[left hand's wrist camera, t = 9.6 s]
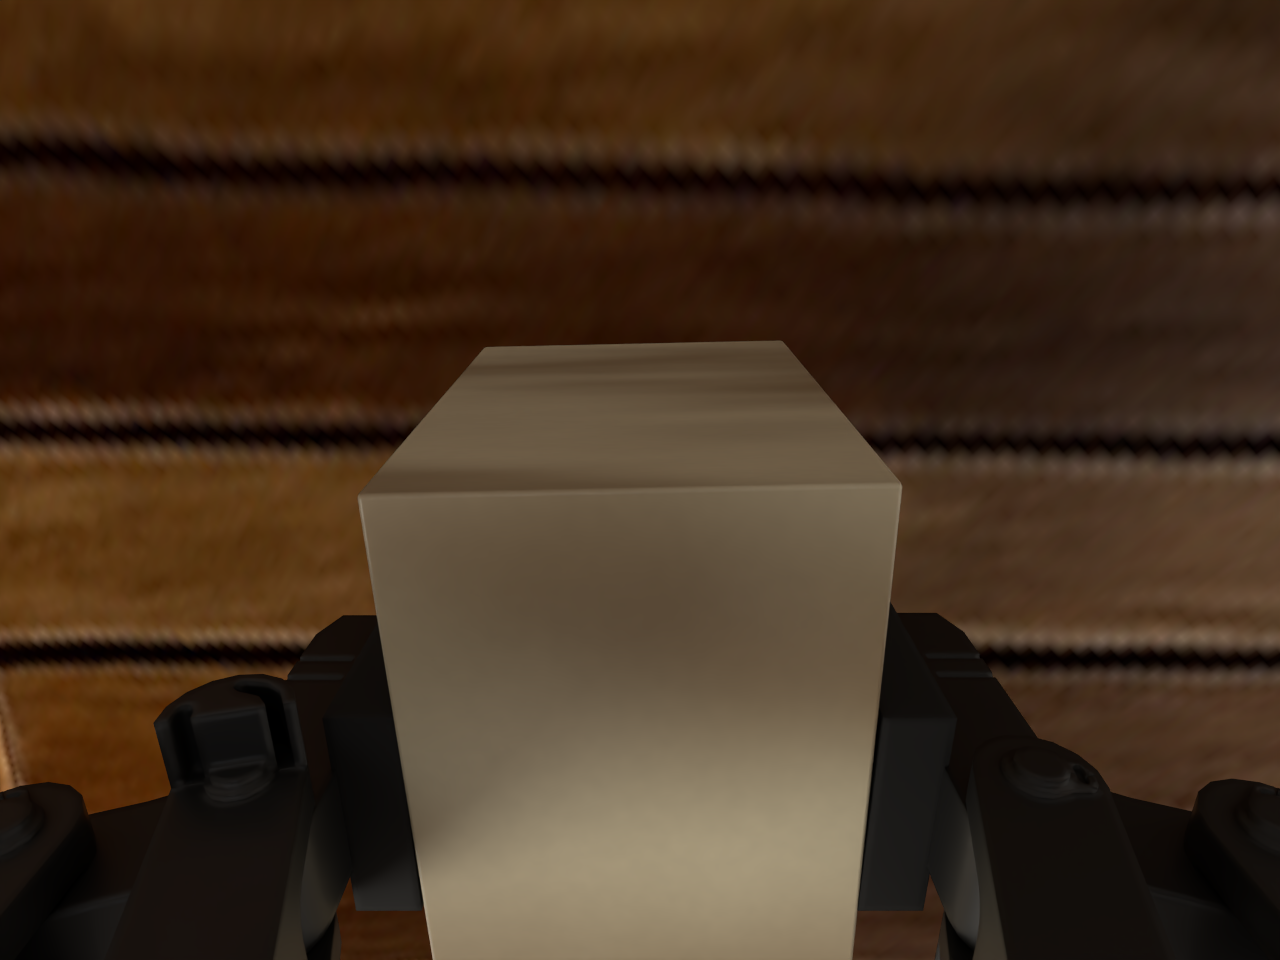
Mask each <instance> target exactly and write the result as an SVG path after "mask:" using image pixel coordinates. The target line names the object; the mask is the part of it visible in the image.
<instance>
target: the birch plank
mask: <svg viewBox="0 0 1280 960" xmlns="http://www.w3.org/2000/svg"><path fill="white" fill-rule="evenodd" d="M901 494H902V485H901V482H900V481H899V480H898V479H897V478H896V476H895V475H894V474H893V473H892V472H891V470H890V469H889V468H888V467H887V466H886V465H885V463H884V462H883V461H882V460H881V459H880V457H879V456H878V455H877V454H876V453H875V451H874V450H873V449H872V448H871V447H870V445H869V444H868V443H867V442H866V441H865V439H864V438H863V437H862V436H861V435H860V433H859V432H858V431H857V430H856V429H855V427H854V426H853V425H852V424H851V423H850V421H849V420H848V419H847V418H846V417H845V416H844V414H843V413H842V412H841V411H840V410H839V408H838V407H837V406H836V405H835V404H834V402H833V401H832V400H831V399H830V398H829V396H828V395H827V394H826V393H825V392H824V390H823V389H822V388H821V387H820V386H819V384H818V383H817V382H816V381H815V380H814V378H813V377H812V376H811V375H810V374H809V372H808V371H807V370H806V369H805V368H804V366H803V365H802V364H801V363H800V362H799V361H798V359H797V358H796V357H795V356H794V355H793V353H792V352H791V351H790V350H789V349H788V347H787V346H786V345H785V344H784V343H783V342H782V341H747V342H701V343H655V344H609V345H564V346H518V347H486V348H484V349H483V350H482V351H481V353H480V354H479V355H478V356H477V357H476V358H475V360H474V361H473V362H472V363H471V364H470V365H469V367H468V368H467V369H466V370H465V371H464V372H463V374H462V375H461V376H460V377H459V378H458V379H457V381H456V382H455V383H454V384H453V385H452V386H451V387H450V389H449V390H448V391H447V392H446V393H445V394H444V396H443V397H442V398H441V399H440V400H439V401H438V403H437V404H436V405H435V406H434V407H433V408H432V410H431V411H430V412H429V413H428V414H427V415H426V417H425V418H424V419H423V420H422V421H421V422H420V424H419V425H418V426H417V427H416V428H415V429H414V430H413V432H412V433H411V434H410V435H409V436H408V437H407V439H406V440H405V441H404V442H403V443H402V444H401V446H400V447H399V448H398V449H397V450H396V451H395V453H394V454H393V455H392V456H391V457H390V458H389V460H388V461H387V462H386V463H385V464H384V465H383V466H382V468H381V469H380V470H379V471H378V472H377V473H376V475H375V476H374V477H373V478H372V479H371V480H370V482H369V483H368V484H367V485H366V486H365V487H364V489H363V490H362V491H361V492H360V493H359V495H358V504H359V510H360V516H361V522H362V528H363V534H364V540H365V547H366V553H367V559H368V565H369V571H370V577H371V583H372V589H373V596H374V602H375V608H376V614H377V620H378V626H379V632H380V638H381V644H382V651H383V657H384V663H385V669H386V675H387V681H388V687H389V693H390V700H391V706H392V712H393V718H394V724H395V730H396V736H397V742H398V748H399V754H400V760H401V766H402V773H403V779H404V785H405V791H406V797H407V803H408V810H409V816H410V822H411V828H412V834H413V840H414V846H415V852H416V859H417V865H418V871H419V877H420V883H421V889H422V895H423V901H424V908H425V914H426V920H427V926H428V932H429V938H430V944H431V950H432V956H433V960H852V956H853V946H854V937H855V928H856V918H857V908H858V899H859V890H860V880H861V871H862V862H863V852H864V843H865V833H866V824H867V814H868V805H869V796H870V786H871V777H872V767H873V758H874V748H875V739H876V730H877V720H878V711H879V701H880V692H881V682H882V673H883V664H884V654H885V645H886V635H887V626H888V616H889V607H890V598H891V588H892V579H893V569H894V560H895V550H896V541H897V532H898V522H899V513H900V503H901Z"/></svg>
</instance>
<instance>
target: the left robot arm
mask: <svg viewBox="0 0 1280 960" xmlns="http://www.w3.org/2000/svg"><path fill="white" fill-rule="evenodd" d="M154 727H155V731H156V734H157V738H158V742H159V745H160V749H161V753H162V756H163V760H164V764H165V767H166V771H167V774H168V778H169V782H170V785H171V791H170V793H169V795H168V796H165V797H162V798H158V799H155V800H151V801H148V802H143V803H139V804H134V805H130V806H125V807H121V808H117V809H112V810H108V811H103V812H99V813H94V814H90V815H88V812H87V809H86V806H85V803H84V800H83V797H82V795H81V794H80V793H79V792H77V791H76V790H75V789H74V788H73V787H71V786H70V785H64V784H58V783H51V782H46V783H39V784H31V785H24V786H19V787H16V788H13V789H9V790H7V791H4V792H0V960H340V953H341V936H340V930H339V924H338V918H337V913H336V910H337V907H338V905H339V902H340V900H341V897H342V895H343V893H344V890H345V888H346V885H347V883H348V880H349V878H350V877H351V883H352V889H353V894H354V900H355V905H356V911H420V910H422V907H423V904H424V901H423V895H422V889H421V883H420V877H419V871H418V865H417V859H416V852H415V846H414V840H413V834H412V828H411V822H410V816H409V810H408V803H407V797H406V791H405V785H404V779H403V773H402V766H401V760H400V754H399V748H398V742H397V736H396V730H395V724H394V718H393V712H392V706H391V700H390V693H389V687H388V681H387V675H386V669H385V663H384V657H383V651H382V644H381V638H380V632H379V626H378V620H377V615H343V616H342V617H340V618H339V619H337V620H336V621H335V622H333V623H332V624H330V625H329V626H328V627H326V628H325V629H323V630H322V631H320V632H319V633H318V634H316V635H315V637H314V638H313V640H312V641H311V643H310V644H309V645H308V647H307V648H306V650H305V651H304V653H303V654H302V656H301V660H300V661H297V663H296V664H295V666H294V667H293V669H292V670H291V671H290V673H289V674H288V679H287V680H283V679H281V678H277V677H273V676H269V675H265V674H251V675H236V676H232V677H228V678H224V679H219V680H215V681H212V682H209V683H207V684H205V685H202V686H200V687H198V688H195V689H193V690H191V691H189V692H187V693H185V694H184V695H182V696H181V697H179V698H178V699H177V700H175V701H174V702H172V703H171V704H169V705H168V706H167V707H166V708H165V709H164V710H163V712H162V713H161V714H160V715H159V717H158V718H157V719H156V720H155V722H154ZM929 874H930V875H931V878H932V880H933V883H934V885H935V888H936V890H937V892H938V895H939V897H940V900H941V902H942V905H943V907H944V913H943V918H942V924H941V929H940V934H939V939H938V945H937V950H936V955H935V960H1280V789H1279V788H1275V787H1273V786H1269V785H1266V784H1263V783H1260V782H1253V781H1245V780H1238V779H1227V780H1220V781H1213V782H1210V783H1209V784H1207V785H1206V786H1205V787H1204V788H1202V789H1201V790H1200V791H1199V792H1198V795H1197V798H1196V801H1195V804H1194V807H1193V810H1192V811H1187V810H1183V809H1178V808H1174V807H1169V806H1165V805H1160V804H1156V803H1151V802H1147V801H1142V800H1138V799H1133V798H1130V797H1126V796H1123V795H1119V794H1116V793H1112V792H1110V789H1109V787H1108V786H1107V784H1106V783H1105V781H1104V780H1103V778H1102V777H1101V775H1100V774H1099V772H1098V771H1097V770H1096V769H1095V768H1094V767H1093V766H1091V765H1090V764H1089V763H1088V762H1086V761H1085V760H1084V759H1083V758H1081V757H1080V756H1079V755H1078V754H1076V753H1074V752H1072V751H1070V750H1068V749H1066V748H1063V747H1061V746H1059V745H1057V744H1055V743H1053V742H1050V741H1046V740H1042V739H1038V738H1037V736H1036V735H1035V733H1034V732H1033V731H1032V729H1031V728H1030V726H1029V725H1028V723H1027V722H1026V721H1025V719H1024V718H1023V716H1022V715H1021V713H1020V712H1019V710H1018V709H1017V708H1016V706H1015V705H1014V703H1013V702H1012V700H1011V699H1010V698H1009V696H1008V695H1007V693H1006V692H1005V690H1004V689H1003V687H1002V686H1001V685H1000V683H999V682H998V680H997V679H996V678H993V677H992V672H991V670H990V669H989V667H988V666H987V665H986V663H985V662H984V660H983V659H980V658H979V653H978V652H977V650H976V649H975V647H974V646H973V644H972V643H971V642H970V640H969V639H968V637H967V636H966V634H965V633H964V632H963V631H962V630H960V629H959V628H957V627H956V626H954V625H953V624H952V623H950V622H949V621H947V620H946V619H944V618H943V617H942V616H940V615H939V614H937V613H896V611H895V609H894V607H893V606H892V604H891V602H890V607H889V616H888V626H887V635H886V645H885V654H884V664H883V673H882V682H881V692H880V701H879V711H878V720H877V730H876V739H875V748H874V758H873V767H872V777H871V786H870V796H869V805H868V814H867V824H866V833H865V843H864V852H863V862H862V871H861V880H860V890H859V899H858V908H857V909H858V911H923V908H924V902H925V897H926V891H927V886H928V880H929Z"/></svg>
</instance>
